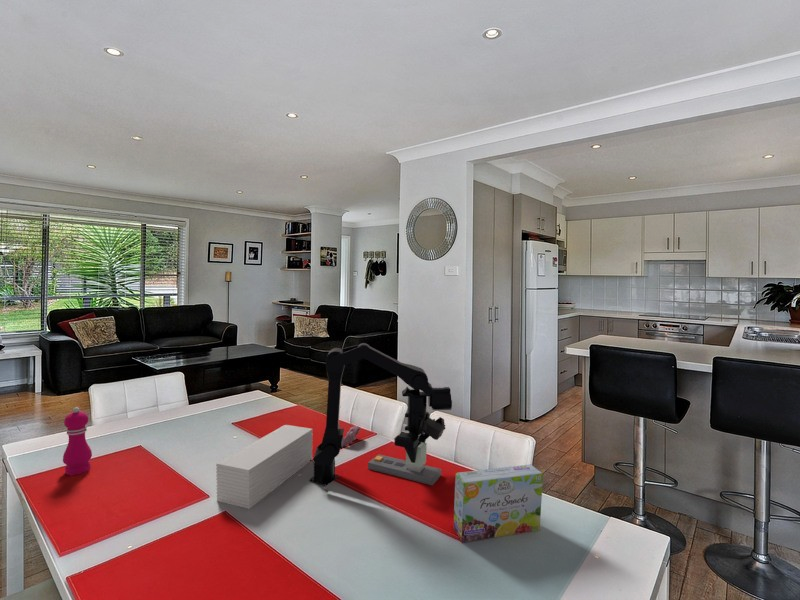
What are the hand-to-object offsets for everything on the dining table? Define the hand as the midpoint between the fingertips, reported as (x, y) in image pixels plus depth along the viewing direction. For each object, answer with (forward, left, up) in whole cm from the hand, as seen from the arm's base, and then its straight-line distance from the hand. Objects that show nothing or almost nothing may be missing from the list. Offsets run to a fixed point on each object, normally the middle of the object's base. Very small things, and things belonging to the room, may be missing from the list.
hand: (416, 459), depth 131 cm
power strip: (0, +4, -6) cm, 7 cm away
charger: (0, 0, -3) cm, 3 cm away
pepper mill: (-46, +94, -6) cm, 105 cm away
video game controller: (+14, +33, -6) cm, 36 cm away
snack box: (-15, -29, -6) cm, 33 cm away
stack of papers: (-21, +39, -6) cm, 45 cm away
